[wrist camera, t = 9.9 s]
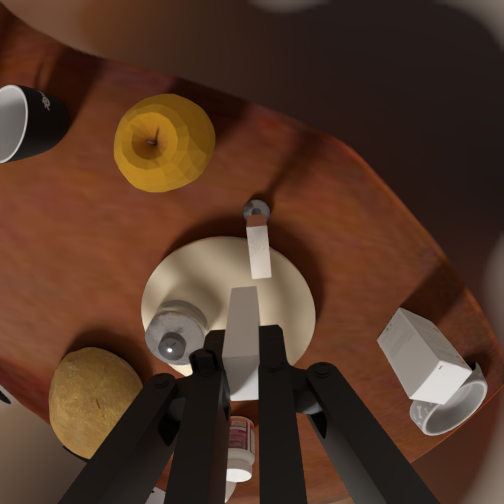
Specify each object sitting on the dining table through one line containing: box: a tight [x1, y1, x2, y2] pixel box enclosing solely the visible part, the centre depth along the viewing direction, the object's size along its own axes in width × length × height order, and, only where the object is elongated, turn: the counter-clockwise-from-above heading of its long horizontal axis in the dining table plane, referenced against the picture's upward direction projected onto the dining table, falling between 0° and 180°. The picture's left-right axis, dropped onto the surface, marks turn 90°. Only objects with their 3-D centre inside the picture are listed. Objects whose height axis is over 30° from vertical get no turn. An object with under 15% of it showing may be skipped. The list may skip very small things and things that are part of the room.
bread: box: [49, 347, 143, 459], centre depth 42 cm, size 18×35×10 cm, turn 152°
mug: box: [0, 85, 68, 163], centre depth 26 cm, size 12×9×10 cm
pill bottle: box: [226, 416, 255, 482], centre depth 42 cm, size 6×6×11 cm
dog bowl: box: [410, 362, 487, 435], centre depth 45 cm, size 17×18×5 cm
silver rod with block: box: [243, 199, 271, 279], centre depth 30 cm, size 3×5×12 cm, turn 6°
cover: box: [145, 300, 208, 365], centre depth 34 cm, size 7×7×6 cm
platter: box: [141, 236, 315, 376], centre depth 36 cm, size 22×23×4 cm
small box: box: [377, 307, 472, 405], centre depth 35 cm, size 8×6×13 cm
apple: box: [114, 94, 215, 192], centre depth 27 cm, size 10×10×12 cm
